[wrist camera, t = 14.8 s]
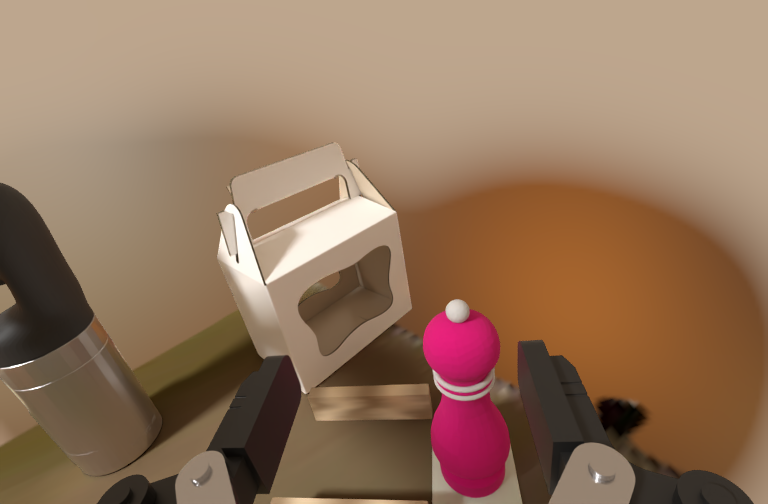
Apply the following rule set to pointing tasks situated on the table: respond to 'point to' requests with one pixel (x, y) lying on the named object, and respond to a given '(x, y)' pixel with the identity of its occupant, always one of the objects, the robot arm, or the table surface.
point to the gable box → (314, 264)
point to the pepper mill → (466, 400)
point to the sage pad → (503, 500)
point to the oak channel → (366, 418)
